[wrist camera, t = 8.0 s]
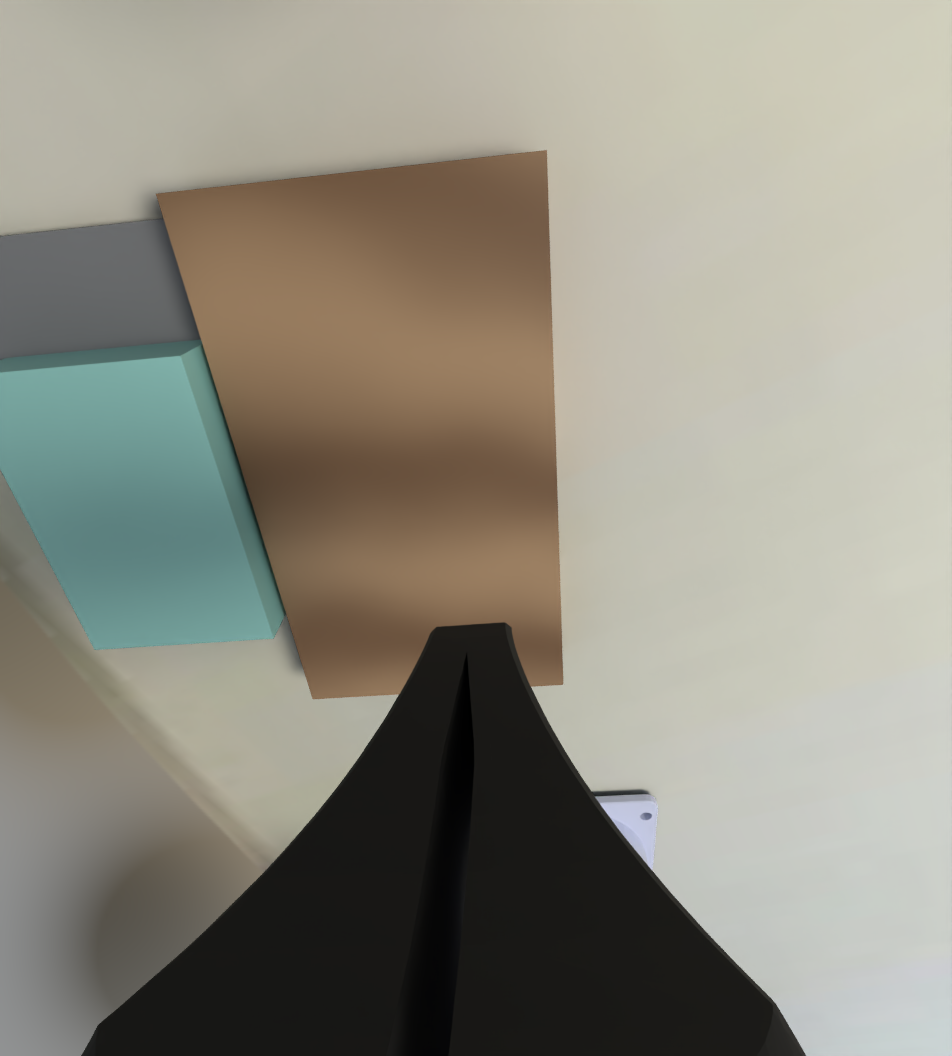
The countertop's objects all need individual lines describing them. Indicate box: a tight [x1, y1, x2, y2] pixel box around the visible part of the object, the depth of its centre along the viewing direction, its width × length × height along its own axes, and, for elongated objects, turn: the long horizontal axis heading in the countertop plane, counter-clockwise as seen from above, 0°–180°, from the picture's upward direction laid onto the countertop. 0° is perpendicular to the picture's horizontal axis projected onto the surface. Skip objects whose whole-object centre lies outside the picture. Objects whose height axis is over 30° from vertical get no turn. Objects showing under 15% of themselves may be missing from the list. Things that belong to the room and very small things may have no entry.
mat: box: [0, 219, 201, 360], centre depth 18 cm, size 11×7×1 cm, turn 5°
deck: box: [156, 150, 563, 699], centre depth 18 cm, size 16×9×2 cm, turn 5°
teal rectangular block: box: [0, 340, 286, 650], centre depth 18 cm, size 9×6×2 cm, turn 5°
